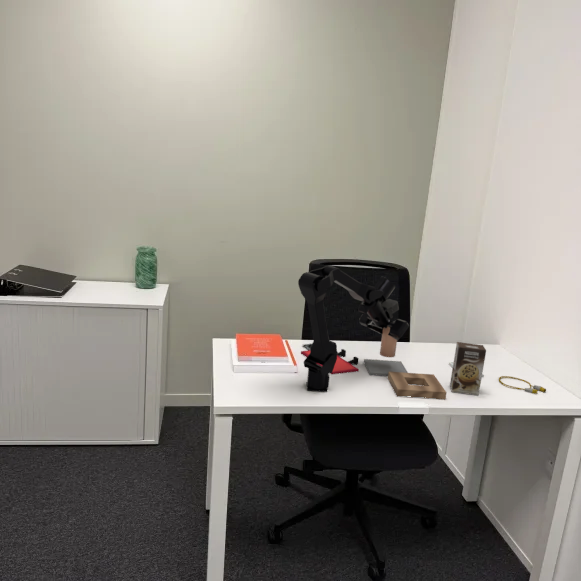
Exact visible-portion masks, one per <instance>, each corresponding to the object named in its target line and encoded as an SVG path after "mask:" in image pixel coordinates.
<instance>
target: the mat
mask: <svg viewBox="0 0 581 581" xmlns="http://www.w3.org/2000/svg"><path fill="white" fill-rule="evenodd" d="M363 363H364V365H365V367H367V368H366V370H367V372H368V374H369V376H379V377H388V372H403V373H409V372H408V371H407V368H406V367H405V365H404V364H403V363H402V361H399V360H388V359H387V360H384V359H383V360H382V359H372V358H371V359H368V358H364V359H363Z"/></svg>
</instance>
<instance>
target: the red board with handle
mask: <svg viewBox="0 0 581 581" xmlns="http://www.w3.org/2000/svg"><path fill="white" fill-rule="evenodd" d="M311 345H312V343H304V344H302V346H303V347H305V348H306V349H307V350H301V351H300V354H301V355H302V354H303V355H302V356H304V357H305V356H306V357H305V358H307V356H308V355H309V354H310V352H311ZM346 353H347V350H346V349H344V348H341V350H340V351H338V354H337V360H336V363H335V366H334V369H333V372H332V373H329V375H330V374H331V375H339V373H340V374H347V372H348V373H354V372H355V373H356V371H357V372H359V368H358V367H356V366H355V365H357V364H359V358H358V357H357V356H353V358H352V359H350V360H349V361H347V360H345V359H343V358H346V355H347V354H346ZM342 356H343V357H342ZM316 364H318V365H320V366H323V365H321V364H319V363H316ZM353 364H354V365H353Z"/></svg>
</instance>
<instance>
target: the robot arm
mask: <svg viewBox="0 0 581 581" xmlns="http://www.w3.org/2000/svg"><path fill="white" fill-rule="evenodd" d="M297 283H298V287H299V291H300V294H301V296H302V297H303V298H304V300H305V301H306V302H307V310H308V316H309V321H310V327H311V333H312V339H313V341H312V343H311V344H312V345H311V352H310V354H309V355H308V356H307V357H305V359H304V361H303V367H304V368H306V369H308V370H307V377H306V382H305V384H306V386H305V387H306V390H307V391H309V392H310V391H311V392H322V393H323V392H326V393H327V392H328V388H329V387H330V386H329V385H330V384H329V383H330V373H332V372H333V369H334V366H335V363H336V360H337V354H338V353H339V351H338V350H337V349H338V348H337V347H338V346H337V343H336V342H334V341H332V340H330V338H329V332H328V331H329V330H328V326H327V325H328V324H327V318H326V310H325V306H324V305H325V304H324V298H325V297H326V295H327V289H329V288H331V287H332V286H333V284H334V283H335V284H336V285H338V286H340V287H343V288H344V289H345V290H347V291H348V293H349V295H350V296H351V297H352V298H353V299H354V300H357V301H360V302H361V303H360V304H359V307H358V312H360V313H362V314H361V316H360V317H359V318H358V319H359V320H358V321H359V324H360V325H361V326H364V327H367V328H368V329H370V330H372V331H374V332H376V333H378V334H381V335H382V332H383V328H387V327H390V332H389V334H388V335H389V336H391V337H392V338H394V339H396V340H397V341H399V340H400V339H401V338H402V337H403V336H404V335H405V333H406V331H407V330H408V329H409V327H410V325H409V323H408V321H406V320H403V319H400V318H397V319H396V320H392V319H393V317H394V315H393V314H395V313H396V312H398V311H399V310H400V307H399V302H398V300H394V299H391V298H389V297H390V295H391V294H392V293H393V291H394V290H395V288H396V285H395V284H394V283H393V282H391V280H389V279H387V277H386V276H381V277H379V279H378V281H377V283H375V285H374V286H372V285H369V284H366V283H362V282H360V281H358V280H356V279H355V278H354V277H352V276H350V275H348V274H347V273H346V272H344V271H342V270H341V269H340V268H339V267H336V266H332V265H324V266H322V267H320V268H316V269H313V270H310V271H307V272H304V273H302V274H301V276H300V277H299V279H298V282H297ZM316 363H319V364H321V365H323V366H320V365H318V364H316Z"/></svg>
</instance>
